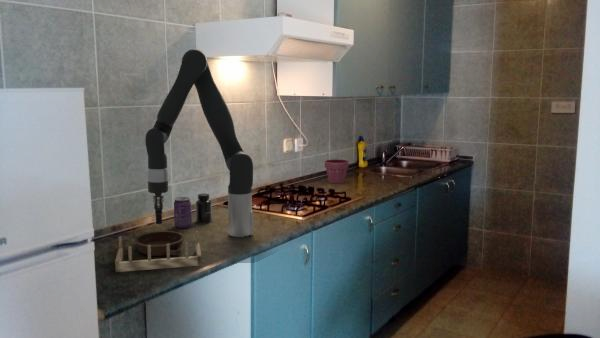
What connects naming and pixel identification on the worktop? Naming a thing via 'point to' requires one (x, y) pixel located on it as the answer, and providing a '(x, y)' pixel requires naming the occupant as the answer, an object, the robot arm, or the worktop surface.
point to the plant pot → (336, 170)
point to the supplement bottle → (203, 209)
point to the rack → (157, 263)
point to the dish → (160, 242)
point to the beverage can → (182, 212)
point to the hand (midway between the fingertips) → (159, 223)
